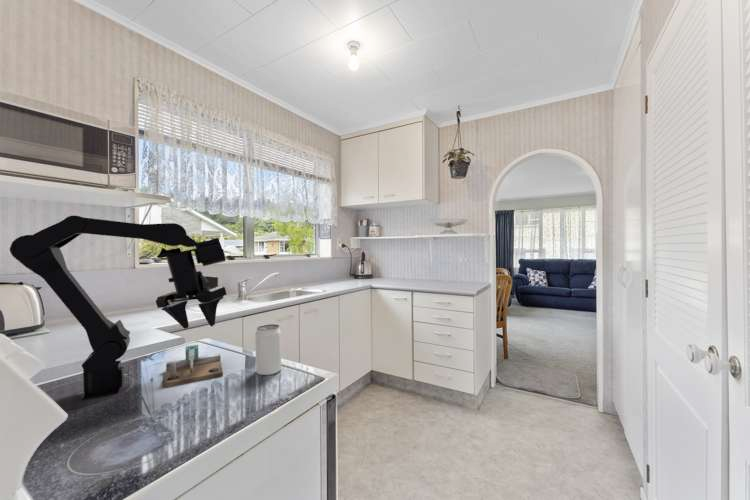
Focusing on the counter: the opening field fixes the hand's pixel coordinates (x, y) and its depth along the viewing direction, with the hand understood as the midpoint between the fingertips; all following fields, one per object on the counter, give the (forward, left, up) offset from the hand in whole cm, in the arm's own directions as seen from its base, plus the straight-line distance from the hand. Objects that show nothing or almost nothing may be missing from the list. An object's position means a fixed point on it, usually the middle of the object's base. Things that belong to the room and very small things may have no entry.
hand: (199, 326), depth 84 cm
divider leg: (-2, +1, -11) cm, 11 cm away
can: (+16, -9, -12) cm, 22 cm away
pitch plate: (-1, 0, -12) cm, 12 cm away
